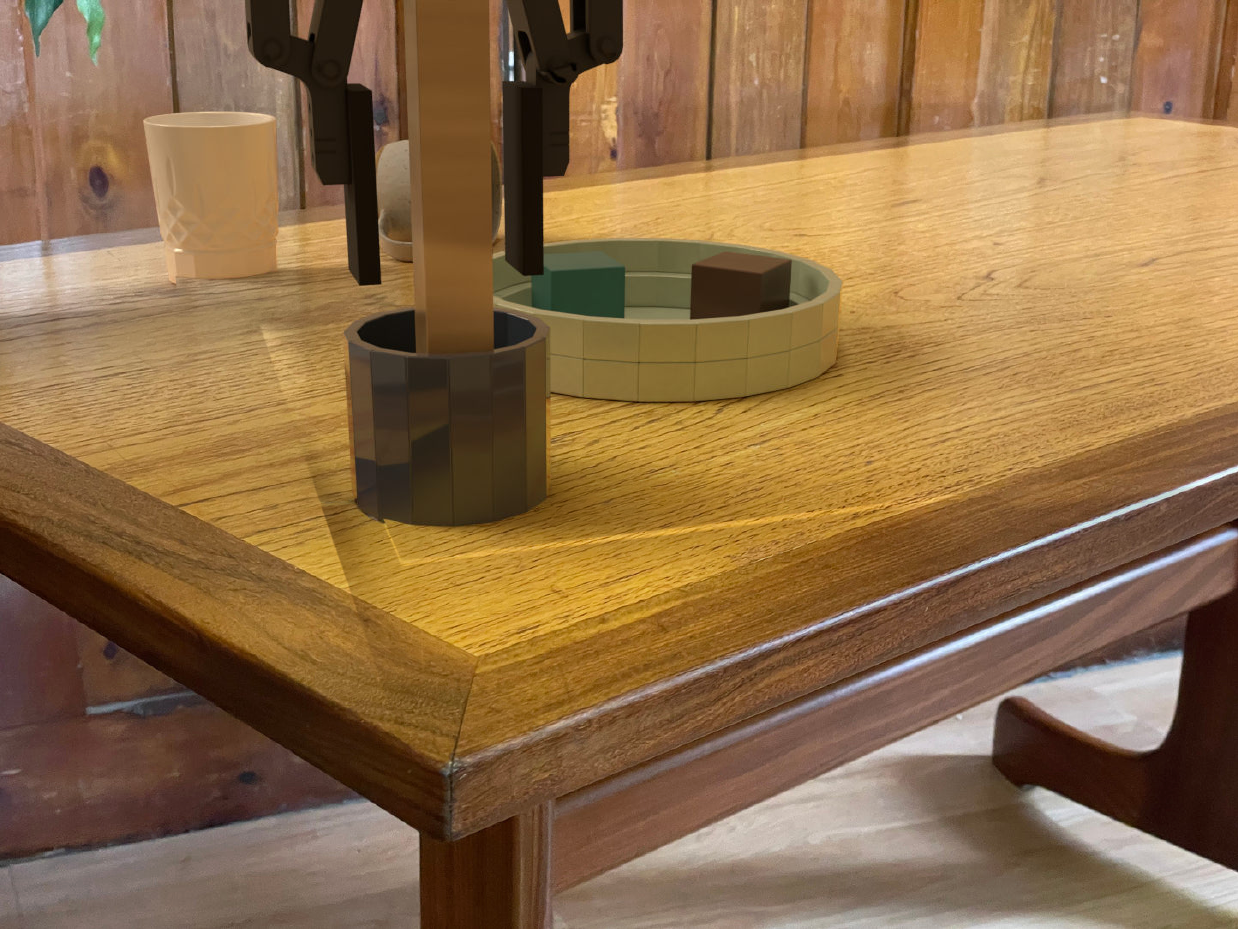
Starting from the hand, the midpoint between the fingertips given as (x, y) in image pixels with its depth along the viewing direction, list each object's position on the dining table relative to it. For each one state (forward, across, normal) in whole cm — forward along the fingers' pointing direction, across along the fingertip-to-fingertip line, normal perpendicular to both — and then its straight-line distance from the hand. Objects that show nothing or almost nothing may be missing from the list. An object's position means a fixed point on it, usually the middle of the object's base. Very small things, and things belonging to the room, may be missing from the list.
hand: (445, 270), depth 49 cm
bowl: (+9, +14, +17) cm, 24 cm away
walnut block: (+8, +19, +18) cm, 27 cm away
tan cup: (+9, -6, +42) cm, 43 cm away
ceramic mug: (+9, +9, +48) cm, 50 cm away
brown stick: (+9, 0, -1) cm, 9 cm away
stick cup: (+9, 0, 0) cm, 9 cm away
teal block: (+8, +11, +20) cm, 24 cm away
